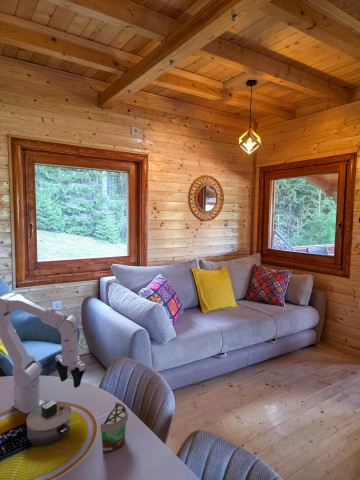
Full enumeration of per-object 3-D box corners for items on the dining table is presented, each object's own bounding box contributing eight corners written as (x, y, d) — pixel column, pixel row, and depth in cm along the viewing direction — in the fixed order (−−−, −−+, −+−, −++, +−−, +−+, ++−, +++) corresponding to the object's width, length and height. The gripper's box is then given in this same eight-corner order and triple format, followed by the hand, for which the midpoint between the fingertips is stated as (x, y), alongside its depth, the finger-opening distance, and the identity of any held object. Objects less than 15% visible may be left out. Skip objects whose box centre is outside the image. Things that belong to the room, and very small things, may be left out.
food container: (119, 459, 95) (119, 428, 94) (100, 456, 96) (100, 425, 96) (133, 431, 107) (133, 403, 106) (116, 428, 108) (116, 401, 108)
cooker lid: (17, 421, 104) (17, 408, 104) (54, 400, 116) (54, 388, 116) (43, 437, 97) (43, 424, 96) (80, 413, 109) (80, 401, 108)
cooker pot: (14, 433, 106) (14, 418, 105) (49, 412, 117) (48, 399, 116) (48, 455, 96) (47, 440, 96) (82, 430, 107) (82, 417, 107)
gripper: (91, 349, 118) (92, 384, 119) (66, 340, 125) (66, 373, 127) (76, 356, 112) (76, 393, 113) (50, 346, 119) (51, 381, 121)
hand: (70, 383), depth 119 cm, fingers open, 7 cm apart
